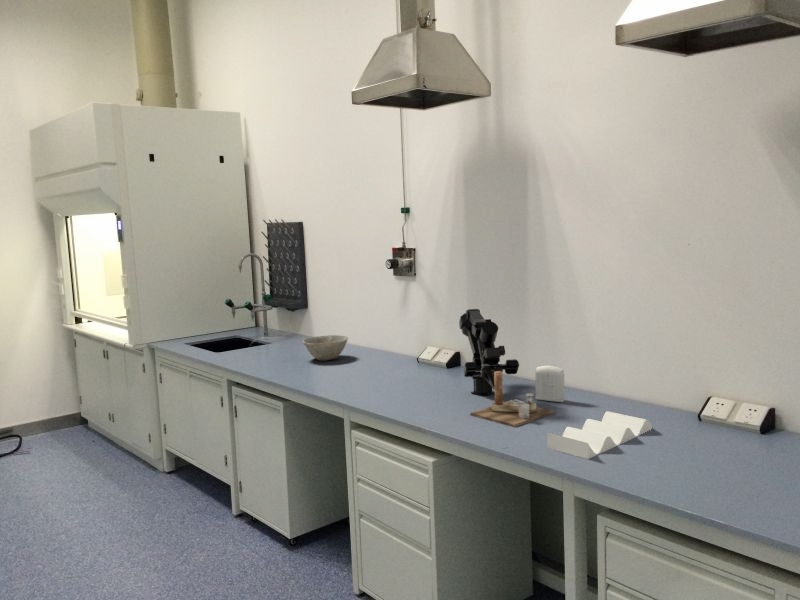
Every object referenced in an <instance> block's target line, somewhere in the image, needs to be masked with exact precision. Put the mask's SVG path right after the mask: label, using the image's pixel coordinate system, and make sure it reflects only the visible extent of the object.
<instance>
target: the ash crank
mask: <svg viewBox="0 0 800 600" xmlns="http://www.w3.org/2000/svg"><path fill="white" fill-rule="evenodd" d="M494 384H495V390H494V392H495V393H494V402H492V403H491V404H490V407H491V411H507V412H519V407H518V406H516V405H514V404H503V403H504V400H503V399H504V398H503V397H504V393H503V392H504V391H503V372H501V371H495V372H494ZM525 403H527V401H526V402H525ZM536 407H537V403H536V402H533V401H532V404H530V405H529V413H535V412H536Z"/></svg>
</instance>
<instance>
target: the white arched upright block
mask: <svg viewBox="0 0 800 600" xmlns="http://www.w3.org/2000/svg"><path fill="white" fill-rule="evenodd" d="M535 400H539V401H546V402H547V401H548V402H549V401H550V402H555V403H556V402H557V403H563V402H565V371H564V369H563V368H561V367H558V366H556V365H555V366H553V365H542V366H537V367H536V368H535ZM562 401H563V402H562Z"/></svg>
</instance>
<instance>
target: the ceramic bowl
mask: <svg viewBox="0 0 800 600" xmlns="http://www.w3.org/2000/svg"><path fill="white" fill-rule="evenodd" d="M348 341H349V337H348V336H346V335H339V334H337V335H336V334H334V335H331V334H328V335H319V336H312V337H311V336H310V337H306V338H304V339H302V340H301V342H302V343H303V346H305V348H306V350H307V351H308V352H309V354H310V356H312V357H313V358H314V359H316V360H318V361H320V362H321V361H322V362H325V361H331V360H335V359H337V358H338V357H339V356H340V355H341V354H342V352H343V351H344V349H345V347H346V345H347V343H348Z"/></svg>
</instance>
